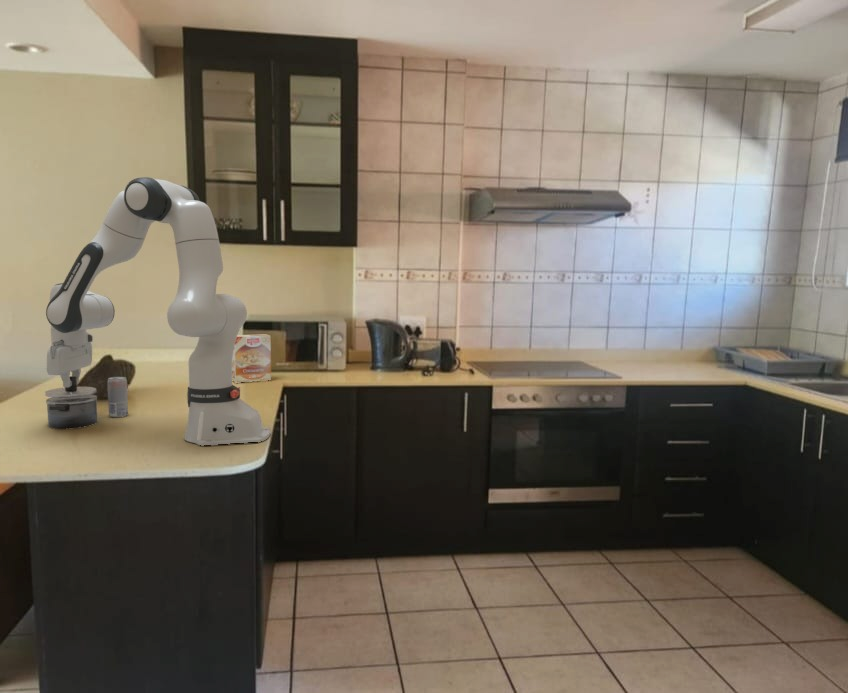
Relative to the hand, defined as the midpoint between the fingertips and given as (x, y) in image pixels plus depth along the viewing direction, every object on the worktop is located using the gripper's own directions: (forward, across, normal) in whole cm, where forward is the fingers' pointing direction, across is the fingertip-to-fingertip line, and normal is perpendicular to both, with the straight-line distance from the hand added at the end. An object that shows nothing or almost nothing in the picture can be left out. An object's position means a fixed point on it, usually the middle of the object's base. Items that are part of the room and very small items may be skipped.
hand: (71, 385), depth 180 cm
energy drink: (+12, +10, -9) cm, 18 cm away
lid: (+2, 0, 0) cm, 2 cm away
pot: (+11, 0, 0) cm, 11 cm away
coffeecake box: (+12, +74, -38) cm, 84 cm away
